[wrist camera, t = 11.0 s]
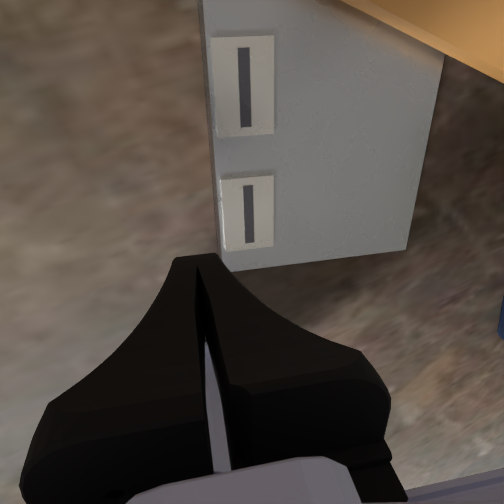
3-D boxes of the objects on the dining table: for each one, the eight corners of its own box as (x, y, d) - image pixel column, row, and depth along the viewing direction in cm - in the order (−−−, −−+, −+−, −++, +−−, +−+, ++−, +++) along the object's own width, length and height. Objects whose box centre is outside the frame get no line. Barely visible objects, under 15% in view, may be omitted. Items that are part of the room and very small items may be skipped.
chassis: (385, 230, 26) (408, 252, 23) (217, 250, 24) (223, 276, 22) (429, -33, 19) (469, -42, 16) (195, -31, 17) (200, -40, 14)
